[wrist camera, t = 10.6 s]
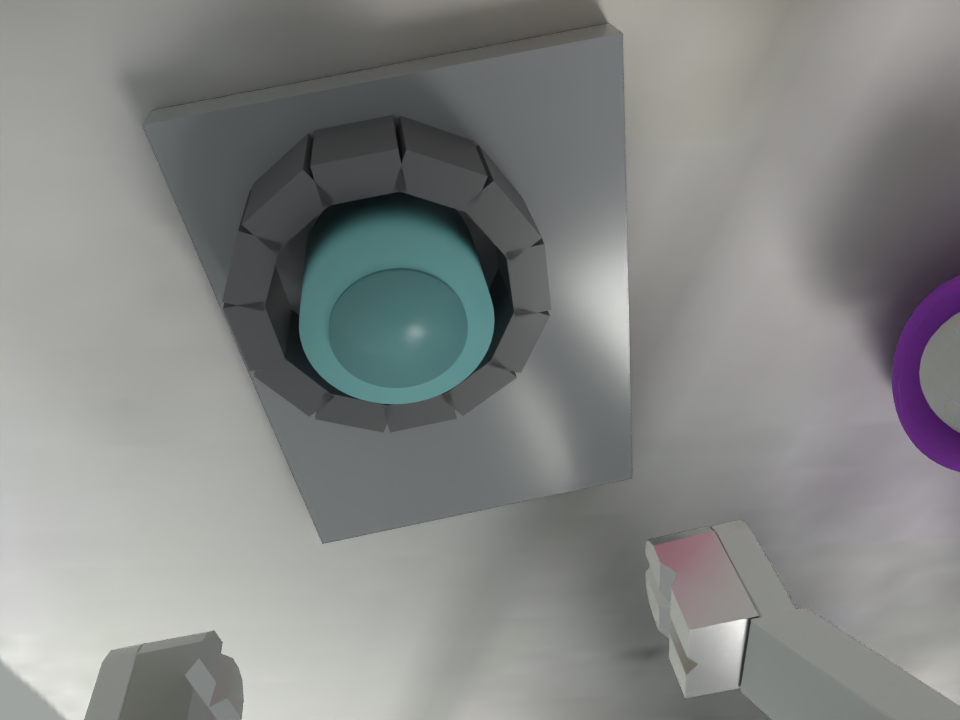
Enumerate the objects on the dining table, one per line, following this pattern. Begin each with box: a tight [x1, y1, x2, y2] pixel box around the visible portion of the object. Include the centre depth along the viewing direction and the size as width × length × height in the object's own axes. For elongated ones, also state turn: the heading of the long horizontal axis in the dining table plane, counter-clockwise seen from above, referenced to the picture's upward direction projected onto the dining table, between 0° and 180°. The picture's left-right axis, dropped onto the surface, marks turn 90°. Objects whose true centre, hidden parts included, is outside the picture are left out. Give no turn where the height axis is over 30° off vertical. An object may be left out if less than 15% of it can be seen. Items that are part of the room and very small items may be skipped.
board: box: [142, 23, 632, 544], centre depth 23 cm, size 16×12×1 cm
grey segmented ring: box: [222, 115, 551, 433], centre depth 19 cm, size 8×8×2 cm
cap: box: [299, 192, 495, 404], centre depth 19 cm, size 5×5×4 cm
